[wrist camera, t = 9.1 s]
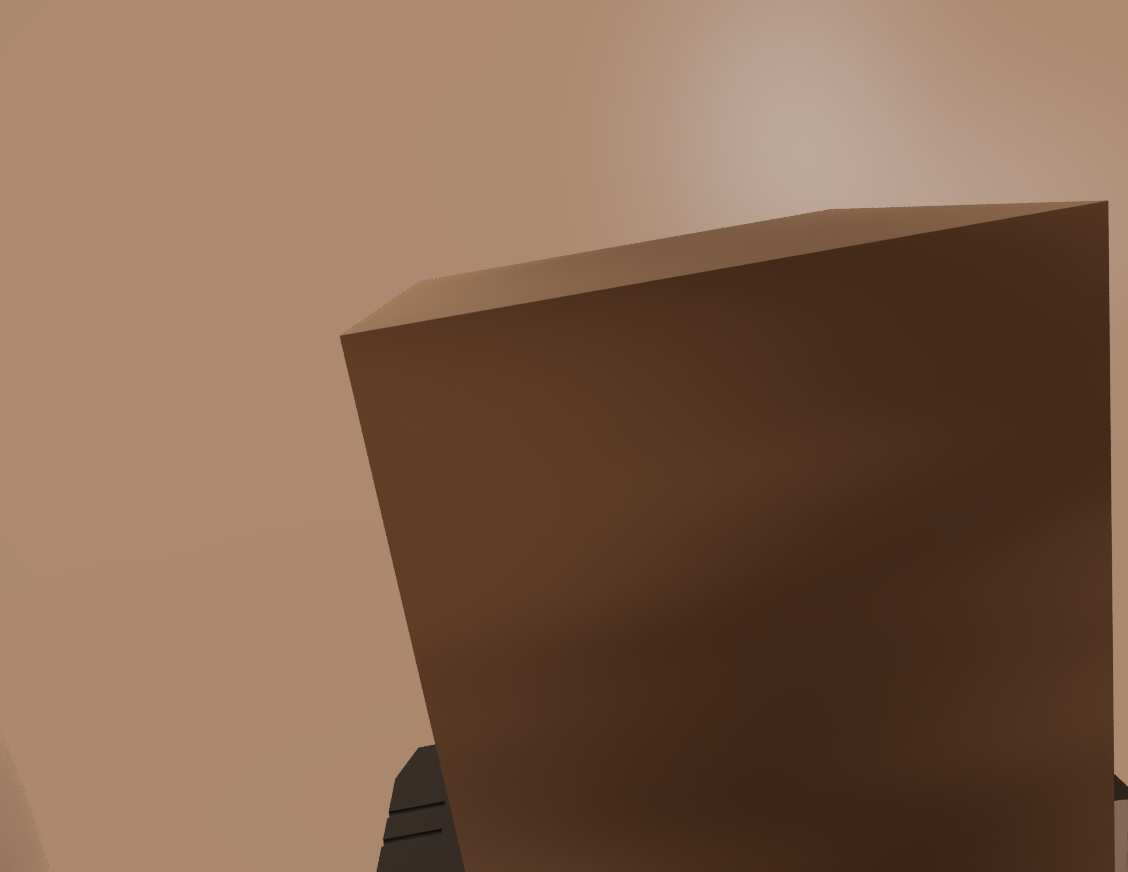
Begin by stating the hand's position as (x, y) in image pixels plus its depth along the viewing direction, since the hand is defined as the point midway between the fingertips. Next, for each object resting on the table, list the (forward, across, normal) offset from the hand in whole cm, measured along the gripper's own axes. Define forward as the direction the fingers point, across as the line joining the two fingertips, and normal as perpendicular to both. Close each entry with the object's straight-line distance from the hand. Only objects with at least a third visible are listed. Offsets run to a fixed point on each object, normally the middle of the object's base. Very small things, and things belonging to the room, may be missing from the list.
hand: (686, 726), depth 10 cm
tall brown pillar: (-3, 0, +8) cm, 9 cm away
